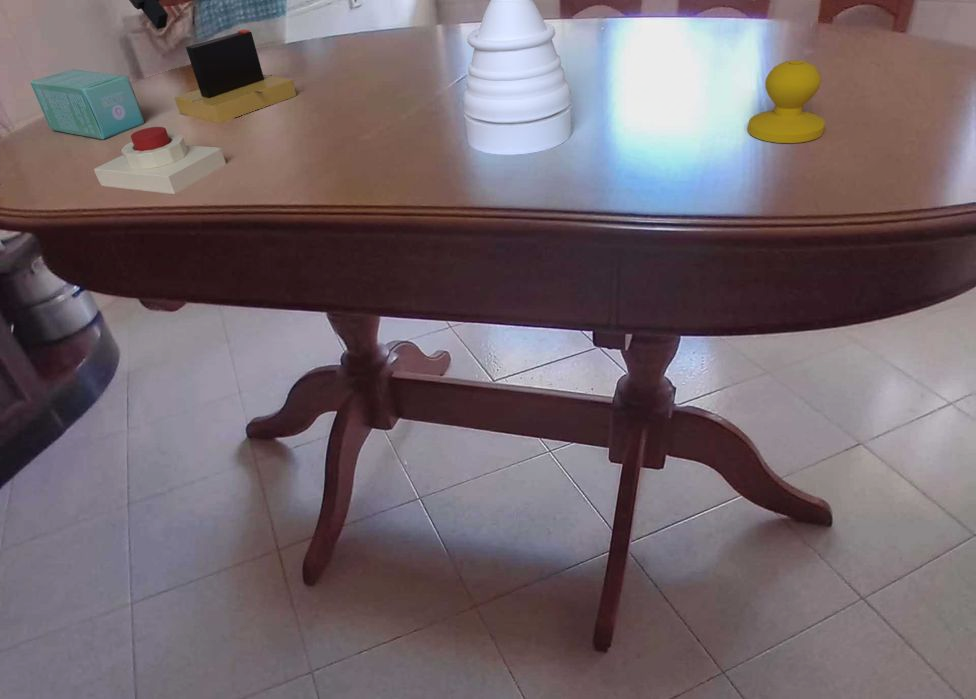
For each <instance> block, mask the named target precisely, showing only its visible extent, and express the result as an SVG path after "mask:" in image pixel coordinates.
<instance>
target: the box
mask: <svg viewBox="0 0 976 699" xmlns="http://www.w3.org/2000/svg"><path fill="white" fill-rule="evenodd" d="M30 85H31V87H32V90H33V92H34V94H35V97H36V99H37V101H38V104H39V106H40V108H41V110H42V113H43V115H44V118H45V120H46V122H47V125H48V127H49V129H50V130H51V131H55V132H60V133H66V134H72V135H76V136H82V137H87V138H93V139H98V140H103V141H104V140H107V139H109V138H112V137H115V136H118V135H120V134H122V133H125V132H127V131H130V130H133V129H135V128H138V127H141V126H142V125H145V124H144V123H145V121H144V117H143V114H142V110H141V108H140V105H139V102H138V99H137V97H136V94H135V91H134V89H133V85H132V84H131V81H130V78H129V77H128V76H127V75H123V74H114V73H107V72H98V71H90V70H81V69H75V68H74V69H70V70H67V71H63V72H59V73H55V74H52V75H48V76H43V77H41V78H37V79H33V80H31V81H30Z"/></svg>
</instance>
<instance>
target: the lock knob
mask: <svg viewBox="0 0 976 699" xmlns="http://www.w3.org/2000/svg"><path fill="white" fill-rule="evenodd" d="M253 36H254V35H253V32H252V31H250V30H249V29H239V30H237V32H234V33H231V34H228V35H224V36H221V37H216V38H214V39H210V40H207V41H203V42H199V43H196V44H192V45H188V46H185V49H186V52H187V56H188V59H189V61H190V64H191V68H192V71H193V74H194V77H195V81H196V83H197V86H198V90H199V89H200V92H201V95H202V97H207V98H211V97H214V96H217V95H220V94H223V93H226V92H229V91H232V90H235V89H237V88H240V87H243V86H246V85H249V84H252V83H255V82H258V81H261V80H264V77H263V75H264V73H263V69H262V66H261V62H260V58H259V55H258V52H257V47H256V44H255V40H254V37H253Z"/></svg>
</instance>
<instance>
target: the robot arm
mask: <svg viewBox="0 0 976 699" xmlns="http://www.w3.org/2000/svg"><path fill="white" fill-rule="evenodd" d="M128 1H129V2H130V3H131V5H132V6H133V7H134V9H136V10H141V11H142V12H143V13H144V14H145V16H146V18H148V20H149V21H150V22H151V24H152V25H153V26H154V27H155V28H156V30H161V29H163V28H166V27H167V22H168V16H169V15H168V12H167V11H166V10H165V8H164V7H163V6H162V5H161V3H160V0H128Z"/></svg>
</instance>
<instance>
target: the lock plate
mask: <svg viewBox="0 0 976 699" xmlns="http://www.w3.org/2000/svg"><path fill="white" fill-rule="evenodd" d="M263 77H264V80H261V81H258V82H255V83H252V84H249V85H246V86H243V87H240V88H237V89H235V90H232V91H229V92H226V93H223V94H220V95H217V96H214V97H211V98H207V97H202V95H201V92H200V89H199V88H198V89H196V90H193V91H192V90H191V91H190V92H186V93H183V94H180V95H177V96H174V97H173V98H174V101H175V104H176V107H177V109H178V112H179V115H183V116H188V117H192V118H196V119H199V120H204V121H209V122H213V123H216V124H222V123H225V122H227V121H230V119H231V120H233V119H236V118H235V117H237V118H239V117H238V116H240V117H242V116H245V115H247V114H246V113H248V114H250V113H249V112H251V113H253V112H256V111H258V110H257V109H259V110H261V108H262V109H264V108H267V107H269V105H270V106H273V105H275V104H277V103H280V102H283V101H285V100H289V99H291V98H294V97H296V96H297V92H296V89H295V85H294V81H293V79H291V78H285V77H280V76H273V74H263ZM272 104H273V105H272ZM266 106H267V107H266ZM255 110H256V111H255ZM252 111H253V112H252ZM244 114H245V115H244ZM241 115H242V116H241ZM232 118H233V119H232Z"/></svg>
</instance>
